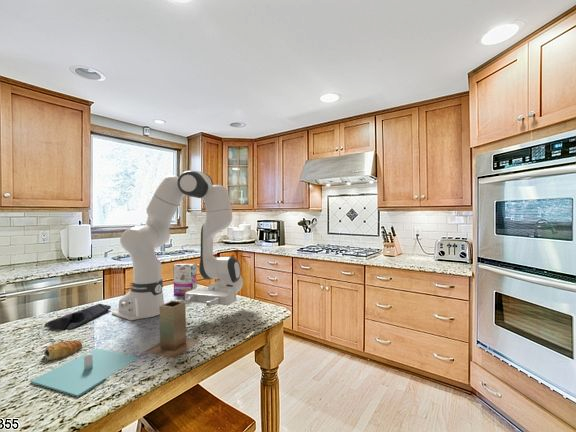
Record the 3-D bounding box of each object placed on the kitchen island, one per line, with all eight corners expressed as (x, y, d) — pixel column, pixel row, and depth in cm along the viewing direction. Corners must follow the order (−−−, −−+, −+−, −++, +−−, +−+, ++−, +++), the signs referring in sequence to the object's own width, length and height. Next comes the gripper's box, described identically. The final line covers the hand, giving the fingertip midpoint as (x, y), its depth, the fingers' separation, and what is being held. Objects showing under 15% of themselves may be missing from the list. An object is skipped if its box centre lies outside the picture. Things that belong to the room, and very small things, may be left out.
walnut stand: (144, 353, 87) (144, 336, 87) (171, 337, 98) (171, 321, 98) (175, 360, 83) (175, 342, 83) (199, 341, 95) (199, 325, 95)
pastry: (77, 344, 94) (77, 333, 94) (86, 349, 90) (85, 338, 90) (41, 356, 86) (41, 344, 86) (49, 363, 82) (49, 351, 82)
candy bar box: (197, 293, 150) (196, 263, 150) (192, 296, 145) (192, 265, 145) (178, 292, 152) (178, 262, 151) (173, 295, 147) (172, 264, 147)
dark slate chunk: (117, 311, 125) (117, 300, 125) (69, 332, 104) (69, 319, 104) (90, 308, 129) (89, 298, 129) (38, 328, 107) (37, 316, 107)
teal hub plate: (30, 383, 73) (29, 365, 72) (96, 349, 90) (96, 335, 90) (77, 397, 67) (77, 378, 67) (139, 359, 84) (138, 343, 84)
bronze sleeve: (160, 348, 89) (159, 306, 89) (172, 340, 94) (171, 300, 94) (174, 351, 87) (173, 307, 87) (186, 343, 93) (185, 302, 92)
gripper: (197, 283, 118) (174, 292, 105) (239, 286, 112) (220, 296, 99) (197, 297, 119) (174, 309, 105) (239, 301, 112) (221, 314, 99)
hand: (197, 303), depth 102 cm, fingers open, 8 cm apart
